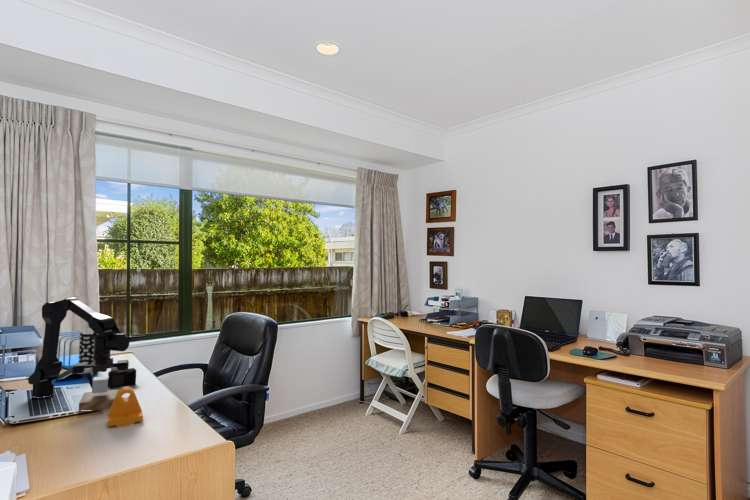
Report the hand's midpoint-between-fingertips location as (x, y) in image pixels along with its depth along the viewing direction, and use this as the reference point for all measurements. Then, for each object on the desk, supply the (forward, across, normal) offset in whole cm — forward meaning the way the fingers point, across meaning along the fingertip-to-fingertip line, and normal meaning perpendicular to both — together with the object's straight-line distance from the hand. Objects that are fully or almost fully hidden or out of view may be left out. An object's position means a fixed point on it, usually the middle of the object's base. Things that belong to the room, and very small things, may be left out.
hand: (100, 388), depth 169 cm
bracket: (+7, +10, -23) cm, 26 cm away
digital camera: (+7, +6, +24) cm, 25 cm away
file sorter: (+7, -19, +77) cm, 79 cm away
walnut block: (+7, 0, 0) cm, 7 cm away
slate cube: (+1, 0, 0) cm, 1 cm away
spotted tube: (+7, -10, +52) cm, 53 cm away
